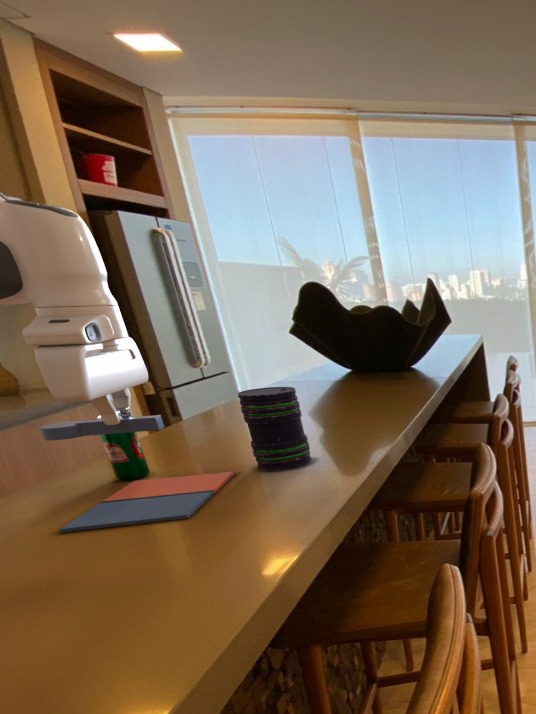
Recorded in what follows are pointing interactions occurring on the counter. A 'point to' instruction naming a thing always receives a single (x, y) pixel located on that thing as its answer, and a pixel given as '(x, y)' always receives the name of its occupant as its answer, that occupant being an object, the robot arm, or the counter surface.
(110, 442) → the soda can
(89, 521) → the sorting mat
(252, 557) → the counter surface
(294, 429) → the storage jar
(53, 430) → the rounded-end blue bar
